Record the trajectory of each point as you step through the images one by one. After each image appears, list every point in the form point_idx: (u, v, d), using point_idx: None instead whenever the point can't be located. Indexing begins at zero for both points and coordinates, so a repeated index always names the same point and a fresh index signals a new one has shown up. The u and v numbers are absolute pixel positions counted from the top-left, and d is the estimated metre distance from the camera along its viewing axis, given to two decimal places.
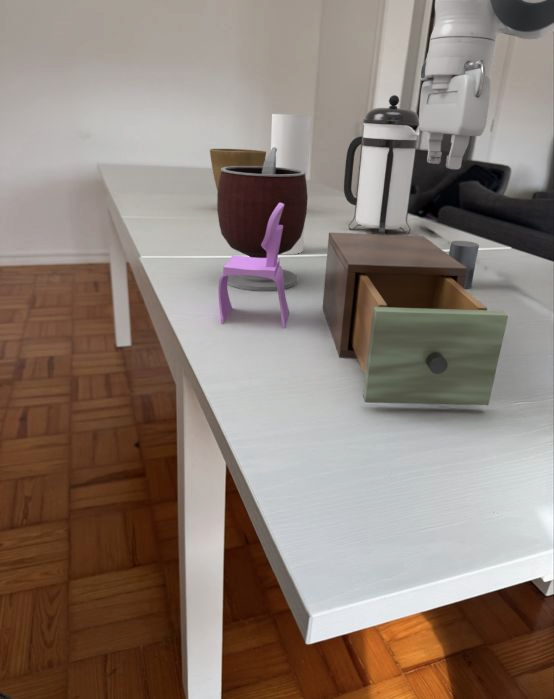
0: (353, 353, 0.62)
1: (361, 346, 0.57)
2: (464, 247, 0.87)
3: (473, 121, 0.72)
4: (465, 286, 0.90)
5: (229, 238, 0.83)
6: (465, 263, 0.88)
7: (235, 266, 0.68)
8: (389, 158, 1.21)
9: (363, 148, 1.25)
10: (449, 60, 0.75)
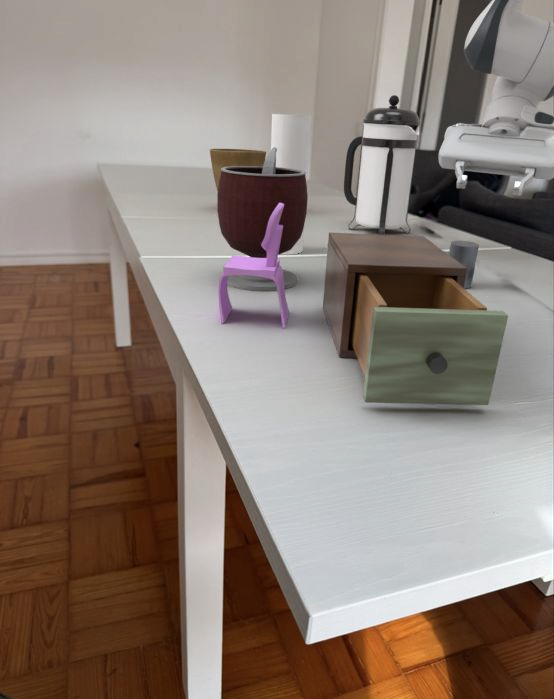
0: (353, 353, 0.62)
1: (361, 346, 0.57)
2: (464, 247, 0.87)
3: None
4: (465, 286, 0.90)
5: (229, 238, 0.83)
6: (465, 263, 0.88)
7: (235, 266, 0.68)
8: (389, 158, 1.21)
9: (363, 148, 1.25)
10: None
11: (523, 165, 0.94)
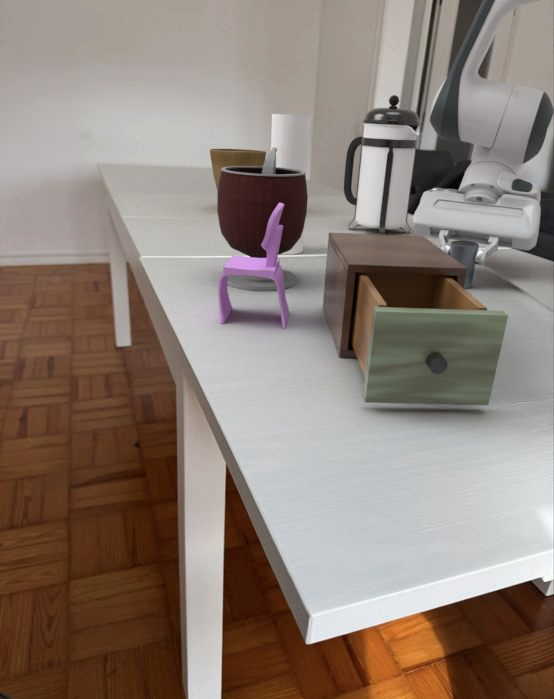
0: (353, 353, 0.62)
1: (361, 346, 0.57)
2: (464, 247, 0.87)
3: None
4: (465, 286, 0.90)
5: (229, 238, 0.83)
6: (465, 263, 0.88)
7: (235, 266, 0.68)
8: (389, 158, 1.21)
9: (363, 148, 1.25)
10: None
11: (498, 235, 0.88)
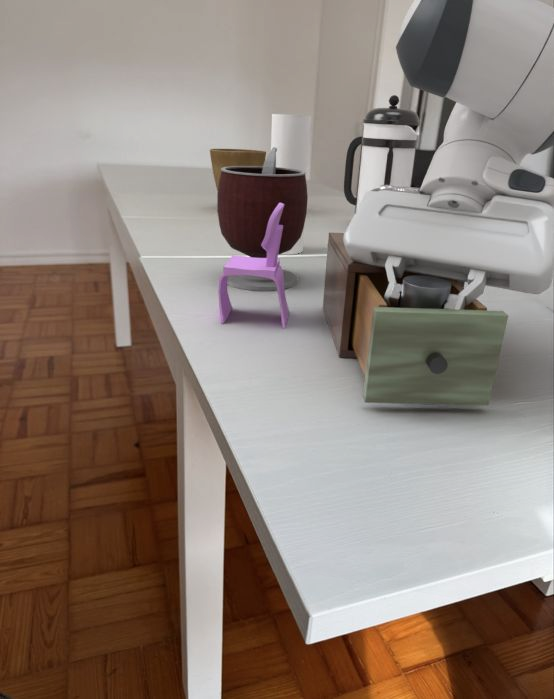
0: (353, 353, 0.62)
1: (361, 346, 0.57)
2: (424, 289, 0.49)
3: None
4: None
5: (229, 238, 0.83)
6: None
7: (235, 266, 0.68)
8: (389, 158, 1.21)
9: (363, 148, 1.25)
10: None
11: (485, 268, 0.50)
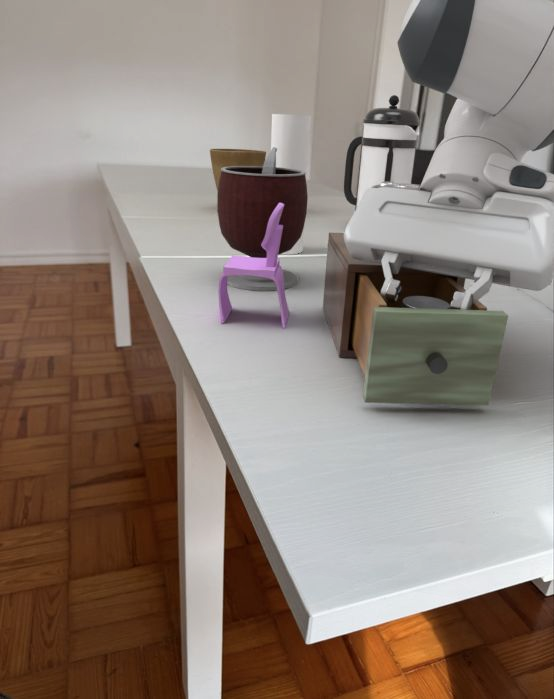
0: (353, 353, 0.62)
1: (361, 346, 0.57)
2: None
3: None
4: None
5: (229, 238, 0.83)
6: None
7: (235, 266, 0.68)
8: (389, 158, 1.21)
9: (363, 148, 1.25)
10: None
11: (486, 265, 0.50)
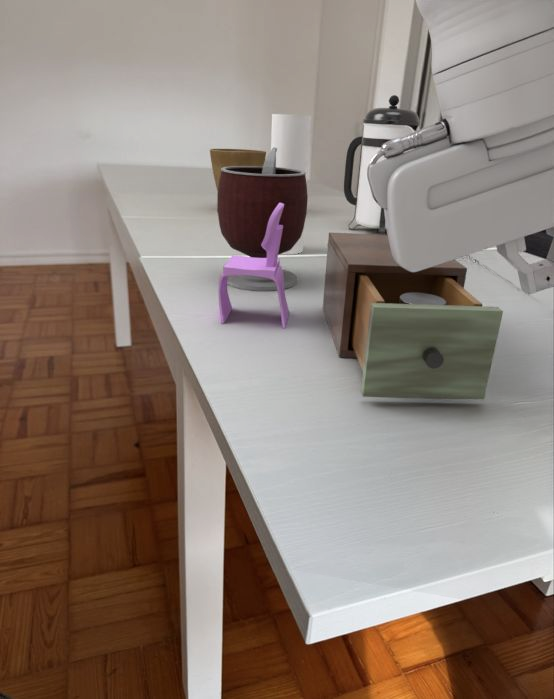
0: (353, 353, 0.62)
1: (359, 342, 0.58)
2: None
3: (392, 249, 0.41)
4: None
5: (229, 238, 0.83)
6: None
7: (235, 266, 0.68)
8: None
9: (363, 148, 1.25)
10: None
11: None
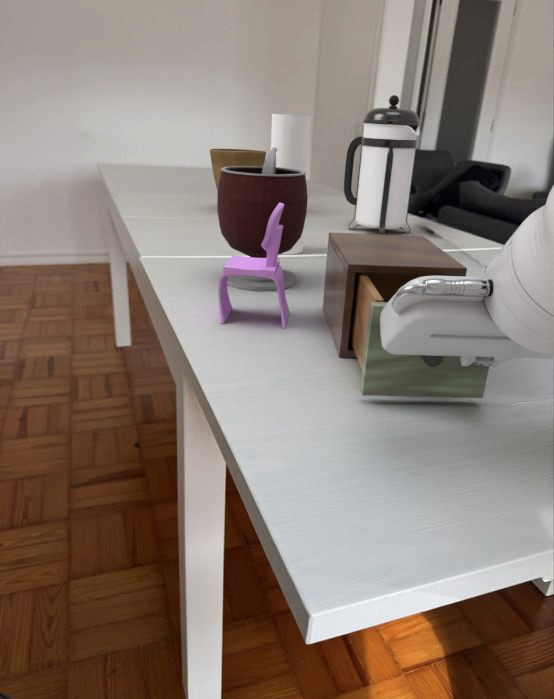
0: (353, 353, 0.62)
1: (359, 341, 0.58)
2: None
3: (383, 325, 0.43)
4: None
5: (229, 238, 0.83)
6: None
7: (235, 266, 0.68)
8: (389, 158, 1.21)
9: (363, 148, 1.25)
10: (499, 252, 0.38)
11: None
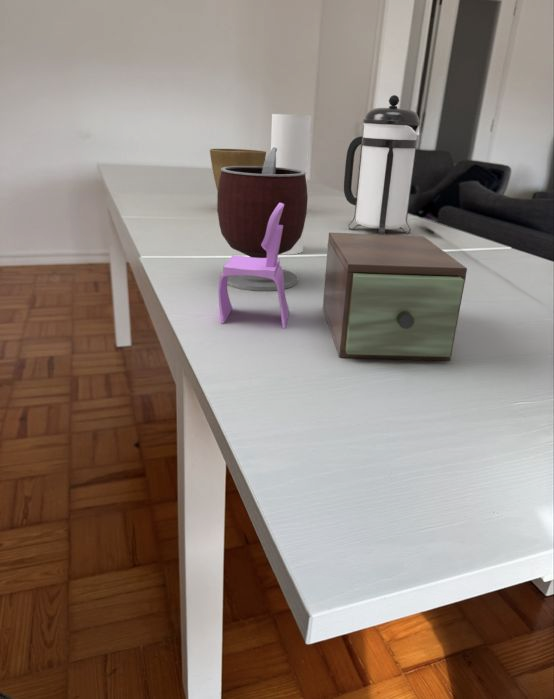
0: None
1: None
2: None
3: None
4: None
5: (229, 238, 0.83)
6: None
7: (235, 266, 0.68)
8: (389, 158, 1.21)
9: (363, 148, 1.25)
10: None
11: None
